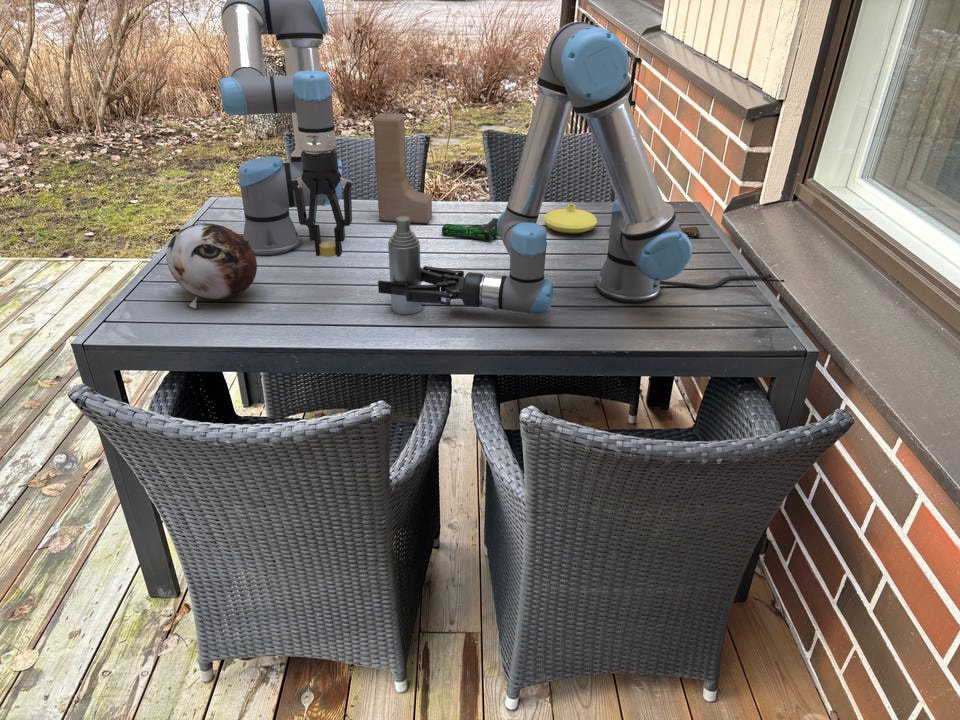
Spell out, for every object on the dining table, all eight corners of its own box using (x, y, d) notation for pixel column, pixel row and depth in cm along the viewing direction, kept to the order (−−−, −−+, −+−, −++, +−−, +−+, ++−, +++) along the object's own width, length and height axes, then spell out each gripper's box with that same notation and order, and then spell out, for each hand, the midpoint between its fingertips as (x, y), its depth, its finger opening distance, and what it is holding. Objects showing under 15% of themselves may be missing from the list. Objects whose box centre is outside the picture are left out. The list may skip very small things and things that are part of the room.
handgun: (511, 219, 210) (493, 234, 198) (511, 228, 211) (492, 244, 199) (461, 212, 215) (440, 226, 203) (461, 221, 217) (440, 236, 204)
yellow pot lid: (559, 216, 220) (561, 193, 217) (605, 227, 212) (608, 204, 209) (532, 230, 209) (533, 207, 206) (580, 242, 201) (582, 218, 198)
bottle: (389, 313, 163) (383, 223, 152) (394, 300, 169) (389, 212, 158) (419, 315, 162) (416, 224, 151) (423, 301, 168) (421, 213, 157)
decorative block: (427, 224, 212) (425, 120, 197) (378, 221, 214) (372, 118, 199) (432, 215, 219) (430, 114, 204) (384, 213, 221) (379, 112, 205)
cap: (326, 258, 160) (325, 249, 159) (316, 253, 163) (315, 244, 161) (341, 253, 162) (341, 244, 161) (331, 248, 165) (331, 239, 164)
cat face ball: (130, 285, 161) (164, 203, 163) (192, 308, 177) (221, 233, 178) (195, 307, 151) (229, 220, 152) (254, 330, 166) (285, 250, 168)
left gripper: (273, 153, 148) (287, 259, 160) (355, 155, 147) (363, 261, 159) (283, 145, 154) (296, 247, 166) (362, 146, 154) (369, 249, 166)
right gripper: (472, 325, 152) (370, 313, 157) (491, 287, 169) (399, 277, 173) (472, 294, 148) (368, 282, 153) (492, 258, 165) (397, 248, 169)
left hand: (329, 253), depth 163 cm, fingers closed on cap, 4 cm apart
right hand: (384, 279), depth 163 cm, fingers closed on bottle, 7 cm apart
